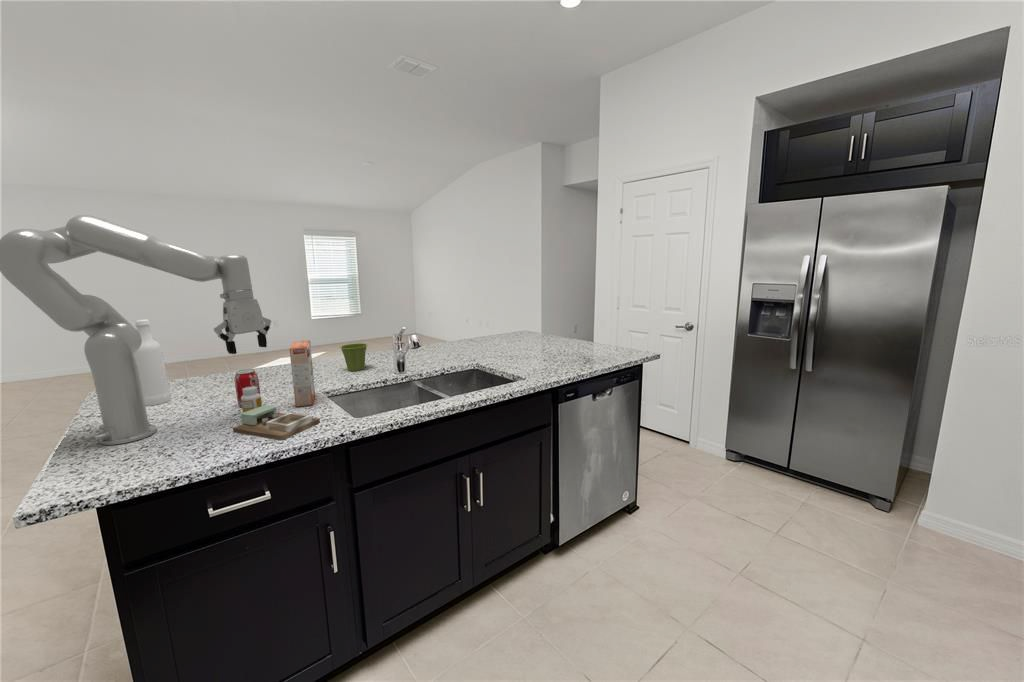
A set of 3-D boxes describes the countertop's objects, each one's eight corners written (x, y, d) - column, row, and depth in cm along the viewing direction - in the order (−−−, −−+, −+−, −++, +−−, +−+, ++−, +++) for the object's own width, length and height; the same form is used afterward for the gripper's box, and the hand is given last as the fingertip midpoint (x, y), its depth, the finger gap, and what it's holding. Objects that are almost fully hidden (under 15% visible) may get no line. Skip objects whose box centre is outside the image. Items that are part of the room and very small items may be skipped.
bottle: (136, 405, 151) (120, 321, 145) (159, 398, 158) (145, 318, 153) (154, 406, 149) (138, 321, 143) (176, 399, 157) (162, 318, 151)
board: (281, 440, 119) (280, 429, 118) (233, 431, 125) (231, 421, 125) (320, 422, 131) (318, 412, 131) (274, 415, 138) (273, 406, 137)
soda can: (250, 408, 146) (245, 374, 144) (233, 406, 147) (228, 373, 145) (266, 401, 153) (261, 368, 150) (249, 400, 154) (244, 368, 152)
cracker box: (314, 405, 147) (307, 346, 143) (295, 407, 145) (287, 347, 141) (316, 394, 160) (310, 339, 156) (298, 396, 158) (292, 340, 154)
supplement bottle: (259, 412, 141) (255, 384, 139) (266, 416, 138) (262, 387, 136) (241, 417, 137) (237, 388, 135) (247, 421, 133) (243, 391, 132)
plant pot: (363, 365, 204) (361, 342, 202) (373, 369, 195) (371, 345, 193) (338, 369, 197) (336, 345, 194) (347, 374, 188) (345, 349, 185)
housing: (254, 425, 126) (252, 415, 125) (242, 423, 128) (240, 413, 127) (277, 416, 133) (276, 406, 133) (265, 414, 135) (264, 405, 134)
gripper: (216, 299, 122) (227, 357, 125) (273, 293, 137) (281, 345, 140) (201, 299, 125) (212, 355, 128) (258, 293, 140) (266, 344, 143)
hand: (248, 350), depth 134 cm, fingers open, 9 cm apart
